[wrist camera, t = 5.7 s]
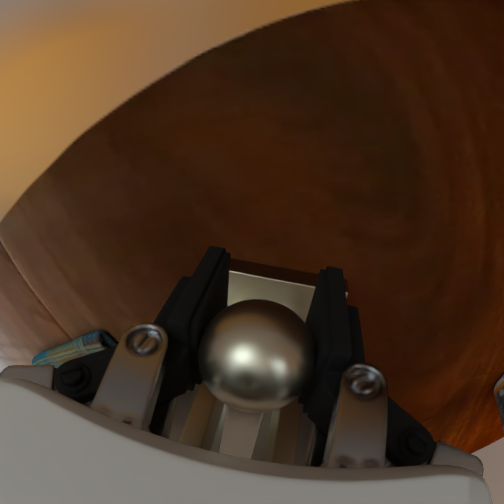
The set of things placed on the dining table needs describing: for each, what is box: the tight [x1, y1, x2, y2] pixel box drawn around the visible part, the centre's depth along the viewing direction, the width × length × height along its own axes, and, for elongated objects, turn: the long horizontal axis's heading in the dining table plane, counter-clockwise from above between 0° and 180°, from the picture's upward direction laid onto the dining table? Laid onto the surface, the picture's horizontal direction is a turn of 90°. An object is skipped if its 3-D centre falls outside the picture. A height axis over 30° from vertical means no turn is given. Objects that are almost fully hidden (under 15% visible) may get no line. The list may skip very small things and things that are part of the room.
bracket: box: [179, 259, 348, 465], centre depth 13 cm, size 11×8×14 cm
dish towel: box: [32, 330, 117, 368], centre depth 29 cm, size 17×23×2 cm
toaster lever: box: [198, 299, 316, 459], centre depth 8 cm, size 12×3×3 cm, turn 174°
